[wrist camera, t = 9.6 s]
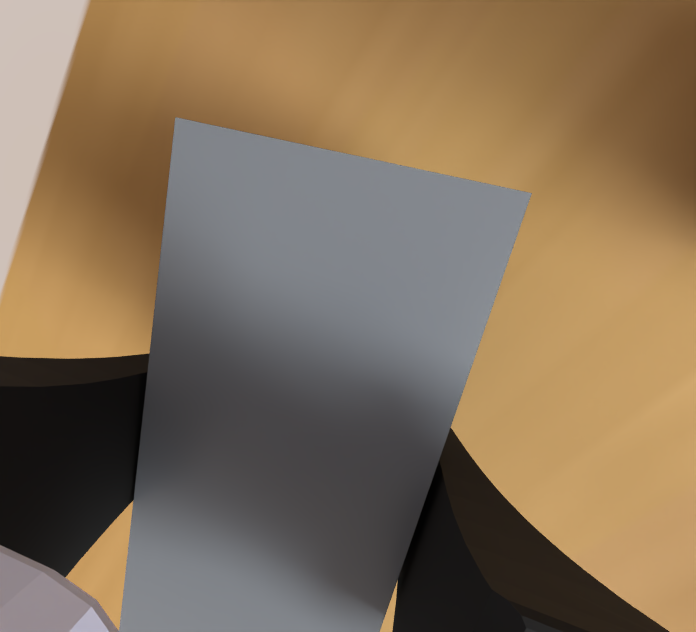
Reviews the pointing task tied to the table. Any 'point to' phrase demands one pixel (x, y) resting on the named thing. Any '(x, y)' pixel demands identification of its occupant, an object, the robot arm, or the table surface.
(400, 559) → the tall grey brick
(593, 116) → the table surface
